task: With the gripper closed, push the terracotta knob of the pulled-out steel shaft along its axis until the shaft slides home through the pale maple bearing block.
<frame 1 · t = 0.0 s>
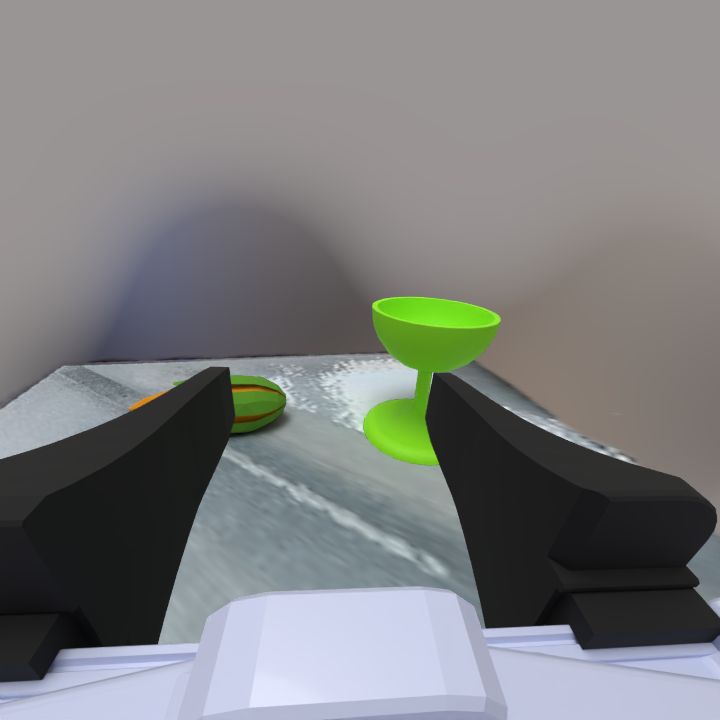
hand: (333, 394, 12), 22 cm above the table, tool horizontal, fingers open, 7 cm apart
wineglass: (416, 430, 49), on the table
corn: (214, 429, 46), on the table
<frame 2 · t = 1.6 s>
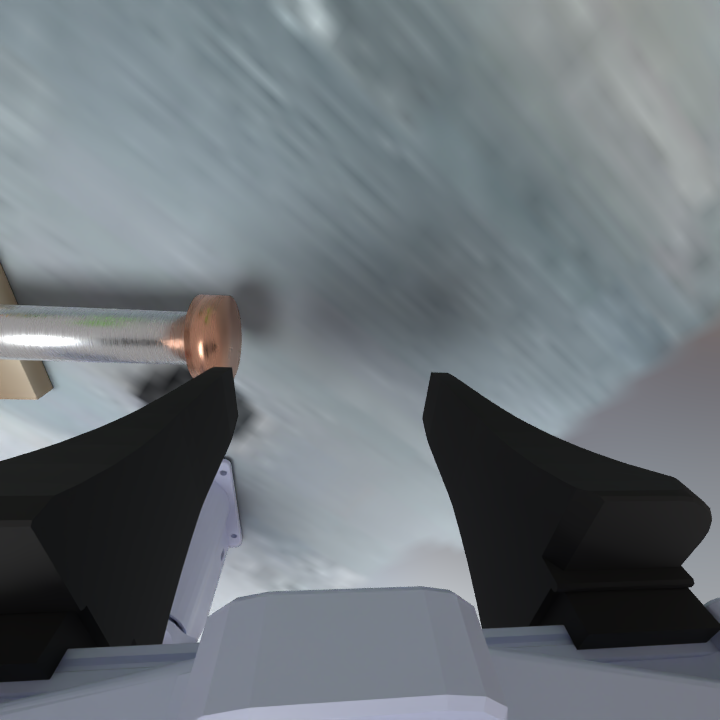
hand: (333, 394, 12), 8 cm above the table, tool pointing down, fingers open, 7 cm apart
shaft: (15, 332, 14), point 4 cm above the table, slide at 8.0 cm
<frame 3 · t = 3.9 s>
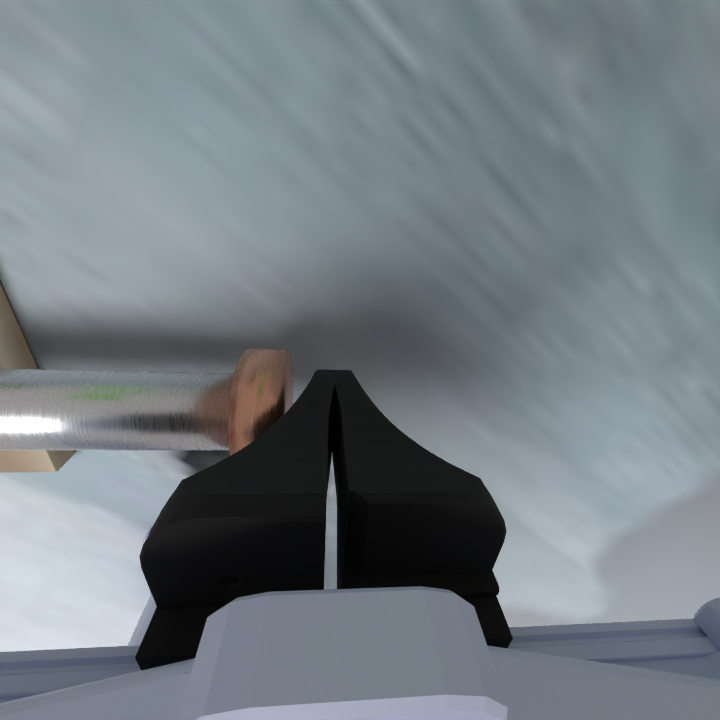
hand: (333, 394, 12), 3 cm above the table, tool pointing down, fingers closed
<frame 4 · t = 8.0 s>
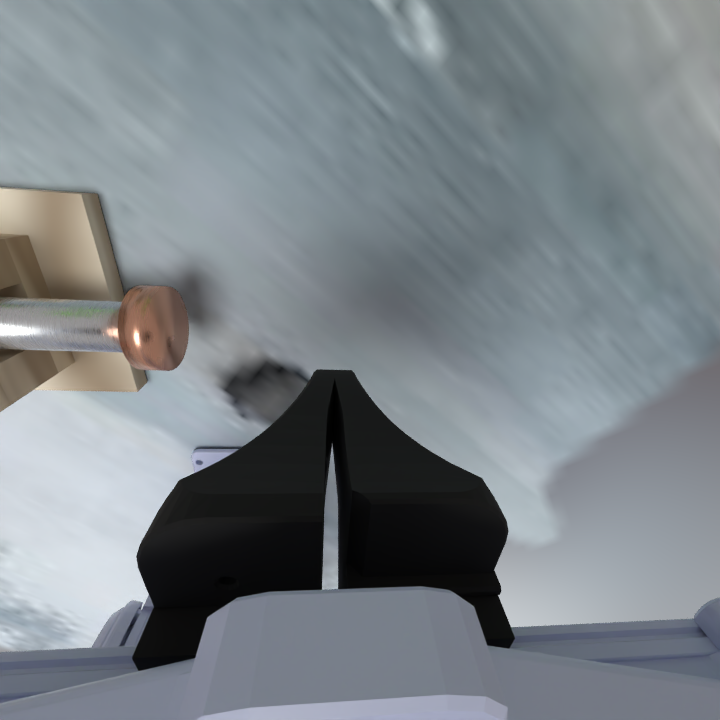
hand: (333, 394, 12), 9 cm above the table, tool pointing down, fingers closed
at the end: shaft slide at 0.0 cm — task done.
